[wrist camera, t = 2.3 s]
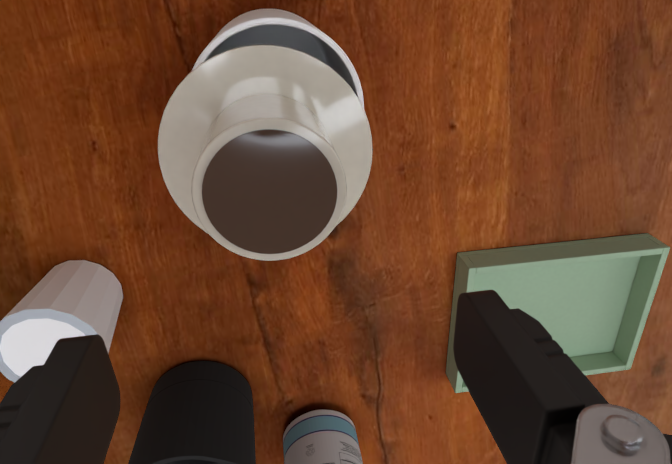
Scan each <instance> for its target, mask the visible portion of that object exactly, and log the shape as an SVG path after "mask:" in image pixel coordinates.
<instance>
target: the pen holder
mask: <svg viewBox="0 0 672 464" xmlns="http://www.w3.org/2000/svg"><path fill="white" fill-rule="evenodd" d="M128 464H256V462H255V436H254V416H253V399H252V391H251V388H250V386H249V384H248V382H247V381H246V379H245V378H244V377H243V376H242V375H241V374H240V373H239V372H237V371H236V370H234V369H233V368H231V367H229V366H227V365H225V364H221V363H218V362H213V361H194V362H189V363H185V364H182V365H179V366H177V367H175V368H173V369H171V370H169V371H168V372H167V373H165V374H164V375H163V376H162V377H161V378H160V379H159V380H158V381H157V383H156V384H155V386H154V388H153V390H152V393H151V396H150V399H149V401H148V404H147V407H146V410H145V413H144V416H143V419H142V422H141V426H140V429H139V432H138V435H137V438H136V441H135V444H134V448H133V451H132V454H131V457H130V460H129V463H128Z"/></svg>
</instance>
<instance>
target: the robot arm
mask: <svg viewBox="0 0 672 464" xmlns="http://www.w3.org/2000/svg"><path fill="white" fill-rule="evenodd" d="M453 351H454V358H455V362H456V366H457V369H458V371H459V373H460V375H461V377H462V379H463V381H464V383H465V385H466V386H467V388H468V390H469V392H470V394H471V396H472V398H473V400H474V402H475V404H476V405H477V407H478V409H479V411H480V413H481V415H482V417H483V419H484V421H485V422H486V424H487V426H488V428H489V430H490V432H491V434H492V436H493V438H494V440H495V441H496V443H497V445H498V447H499V449H500V451H501V453H502V455H503V457H504V459H505V460H506V462H507V464H672V435H667V434H662V433H661V432H660V430H659V429H658V428H657V427H656V426H655V425H654V424H653V423H651V422H650V421H649V420H647V419H646V418H645V417H643V416H641V415H640V414H638V413H636V412H634V411H632V410H630V409H627V408H624V407H621V406H617V405H612V404H609V403H608V402H607V401H606V400H605V399H604V397H603V396H602V395H601V394H600V393H599V392H598V390H597V389H596V388H595V387H594V386H593V384H592V383H591V382H590V381H589V380H588V379H587V377H586V376H585V375H584V374H583V373H582V371H581V370H580V369H579V368H578V367H577V366H576V364H575V363H574V362H573V361H572V360H571V358H570V357H569V356H568V355H567V354H564V352H563V349H562V348H561V347H560V346H559V344H558V343H557V342H556V341H555V340H553V339H552V336H551V335H550V334H549V333H548V331H547V330H546V329H545V328H544V327H543V325H542V324H541V323H540V322H539V321H538V320H536V319H535V318H533V317H532V316H530V315H528V314H527V313H525V312H524V311H522V310H521V309H519V308H517V309H509V307H508V306H507V305H506V304H505V302H504V301H503V300H502V298H501V297H500V296H499V295H498V293H497V292H496V291H494V290H484V291H475V292H467V293H461V294H460V295H459V297H458V302H457V313H456V323H455V333H454V343H453ZM119 411H120V391H119V386H118V383H117V380H116V377H115V374H114V370H113V367H112V364H111V361H110V358H109V355H108V352H107V349H106V346H105V343H104V340H103V338H102V337H101V336H100V335H98V334H96V335H87V336H79V337H70V338H62V339H59V340H58V341H57V343H56V344H55V346H54V348H53V349H52V351H51V353H50V355H49V357H48V358H47V360H46V362H45V364H44V365H39V366H33V367H32V368H31V369H29V370H28V371H27V372H26V373H25V374H24V375H23V376H22V377H21V378H19V379H18V380H17V381H16V382H15V383H14V384H13V385H12V386H11V387H10V389H9V390H8V392H7V393H6V395H5V397H4V398H3V400H2V402H1V403H0V464H103V463H104V460H105V457H106V454H107V451H108V448H109V444H110V441H111V438H112V435H113V432H114V429H115V426H116V423H117V420H118V416H119Z"/></svg>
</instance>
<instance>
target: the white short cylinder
mask: <svg viewBox="0 0 672 464" xmlns="http://www.w3.org/2000/svg"><path fill="white" fill-rule="evenodd" d="M122 299H123V293H122V287H121V284H120V282H119V281H118V279H117V278H116V277H115V275H114V274H113V273H112V272H111V271H109V270H108V269H106V268H105V267H103V266H102V265H100V264H96V263H93V262H90V261H86V260H69V261H66V262H64V263H61V264H58V265H56V266H54V267H53V268H52V269H51V270H50V271H49V272H48V273H47V274H46V275H45V276H44V277H43V279H42V280H41V281H40V282H39V283H38V284H37V285H36V286H35V287H34V288H33V289H32V290H31V291H30V292H29V293H28V294H27V295H26V296H25V297H24V298H23V299H22V300H21V301H20V302H19V303H18V304H17V305H16V306H15V307H14V308H13V309H12V310H11V311H10V312H9V313H8V314H7V315H6V316H5V317H4V318H3V319H2V320H1V321H0V372H1V373H2V374H3V375H4V376H5V377H6V378H7V379H9V380H11V381H13V382H16V381H17V380H18V379H19V378H21V377H22V376H23V375H24V374H25V373H26V372H27V371H28V370H29V369H31V368H32V367H33V366H39V365H44V364H45V362H46V360H47V358H48V357H49V355H50V353H51V351H52V349H53V348H54V346H55V344H56V343H57V341H58V340H59V339H62V338H70V337H79V336H87V335H96V334H98V335H100V336H101V337H102V338H103V340H104V343H105V346H106V349H107V352H108V353H109V349H110V345H111V341H112V338H113V334H114V330H115V326H116V322H117V318H118V315H119V311H120V307H121V303H122Z"/></svg>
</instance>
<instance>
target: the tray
mask: <svg viewBox="0 0 672 464" xmlns="http://www.w3.org/2000/svg"><path fill="white" fill-rule="evenodd" d="M669 250H670V247H669V246H667V245H666V244H664V243H662V242H661V241H659V240H658V239H656V238H655V237H653V236H652V235H650V234H648V233H645V234H635V235H625V236H616V237H606V238H596V239H586V240H577V241H567V242H557V243H547V244H538V245H528V246H518V247H508V248H499V249H489V250H479V251H469V252H459V253H457V260H456V270H455V281H454V291H453V301H452V312H451V322H450V333H449V343H448V353H447V364H446V375H447V377H448V379H449V381H450V383H451V385H452V387H453V389H454V391H455V393H460V392H467V391H469V390H468V388H467V386H466V385H465V383H464V381H463V379H462V377H461V375H460V373H459V371H458V369H457V366H456V362H455V358H454V351H453V343H454V333H455V323H456V313H457V302H458V297H459V295H460V294H461V293H467V292H475V291H484V290H494V291H496V292H497V293H498V295H499V296H500V297H501V298H502V300H503V301H504V302H505V304H506V305H507V306H508V307H509V309H517V308H519V309H521V310H522V311H524V312H525V313H527V314H528V315H530V316H532V317H533V318H535V319H536V320H538V321H539V322H540V323H541V324H542V325H543V327H544V328H545V329H546V330H547V331H548V333H549V334H550V335H551V336H552V339H553V340H555V341H556V342H557V343H558V344H559V346H560V347H561V348H562V349H563V352H564V354H567V355H568V356H569V357H570V358H571V360H572V361H573V362H574V363H575V364H576V366H577V367H578V368H579V369H580V370H581V371H582V373H583V374H584V375H592V374H599V373H606V372H614V371H621V370H628V369H630V368H631V365H632V362H633V359H634V356H635V353H636V350H637V347H638V344H639V341H640V338H641V335H642V332H643V329H644V326H645V323H646V320H647V317H648V314H649V311H650V308H651V305H652V301H653V298H654V295H655V292H656V289H657V286H658V283H659V280H660V277H661V274H662V271H663V268H664V265H665V262H666V259H667V256H668V253H669Z"/></svg>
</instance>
